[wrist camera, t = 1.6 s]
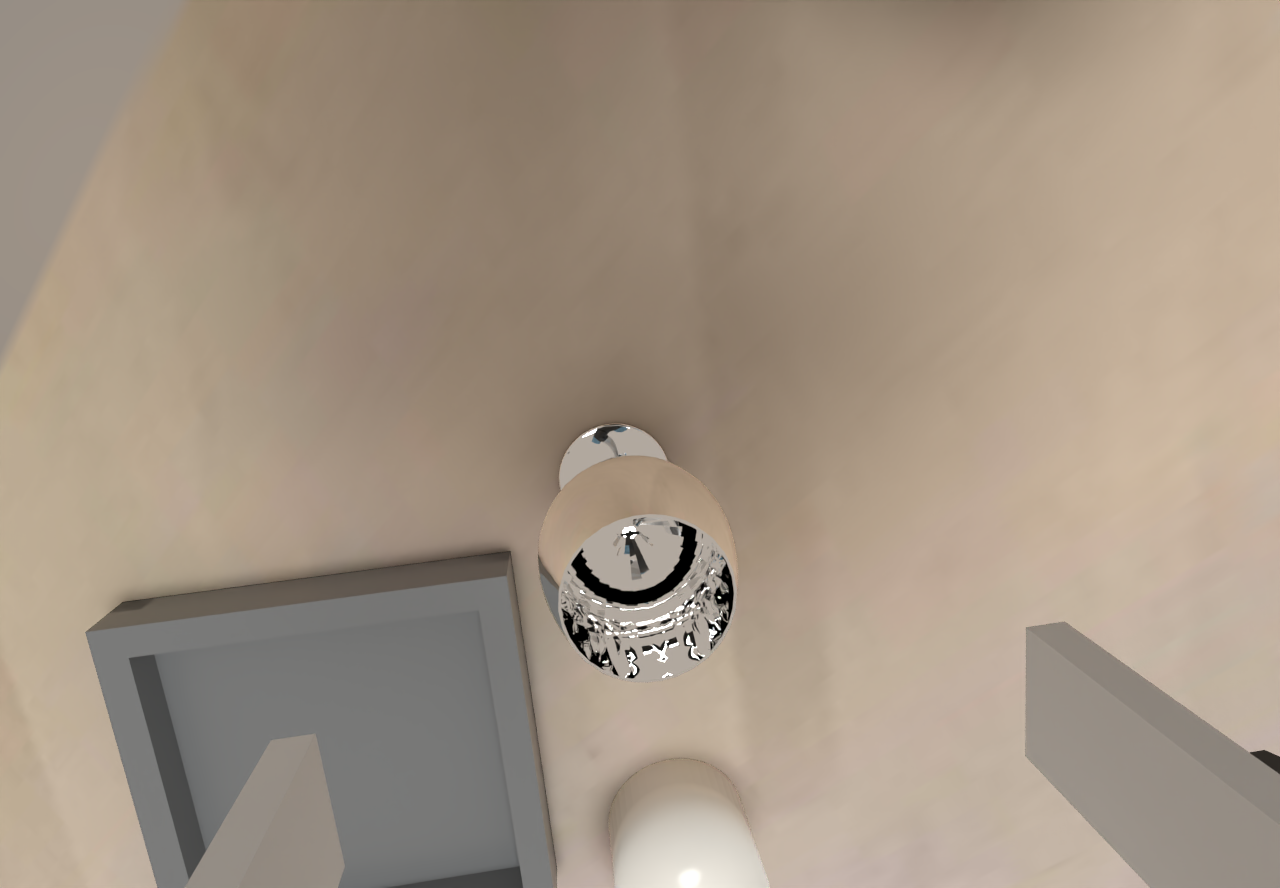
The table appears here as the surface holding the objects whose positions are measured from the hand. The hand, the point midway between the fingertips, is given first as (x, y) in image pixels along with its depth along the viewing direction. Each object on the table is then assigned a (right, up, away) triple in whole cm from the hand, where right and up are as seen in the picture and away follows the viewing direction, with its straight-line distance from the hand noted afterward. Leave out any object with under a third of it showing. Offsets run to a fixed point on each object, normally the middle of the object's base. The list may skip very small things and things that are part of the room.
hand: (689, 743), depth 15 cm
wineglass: (-2, +4, +18) cm, 18 cm away
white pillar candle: (+1, -11, +21) cm, 24 cm away
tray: (-13, -7, +19) cm, 24 cm away
